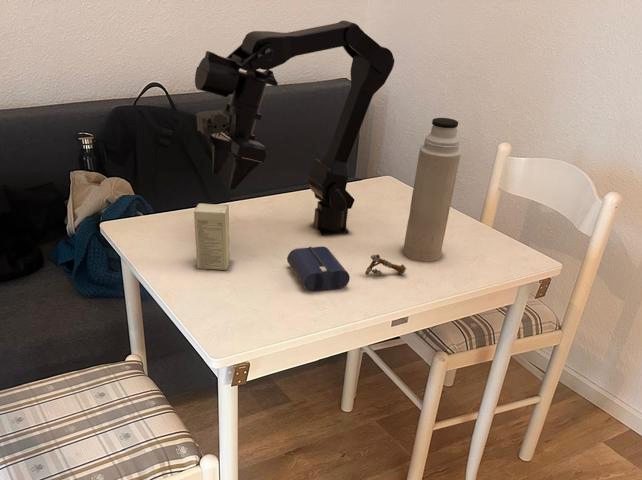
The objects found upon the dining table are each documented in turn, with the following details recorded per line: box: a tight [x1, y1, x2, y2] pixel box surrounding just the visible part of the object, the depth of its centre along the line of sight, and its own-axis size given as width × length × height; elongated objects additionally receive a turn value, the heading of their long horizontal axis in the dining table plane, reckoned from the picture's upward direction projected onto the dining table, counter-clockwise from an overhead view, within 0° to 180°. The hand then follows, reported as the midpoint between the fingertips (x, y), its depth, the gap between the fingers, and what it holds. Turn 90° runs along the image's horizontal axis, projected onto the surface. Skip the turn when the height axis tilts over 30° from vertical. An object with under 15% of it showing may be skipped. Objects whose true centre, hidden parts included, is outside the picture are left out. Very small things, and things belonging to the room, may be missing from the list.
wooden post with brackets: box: [364, 253, 408, 277], centre depth 135 cm, size 2×8×4 cm, turn 102°
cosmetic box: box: [193, 203, 231, 271], centre depth 133 cm, size 6×4×12 cm
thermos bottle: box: [402, 117, 462, 262], centre depth 137 cm, size 8×8×28 cm
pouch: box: [286, 245, 351, 293], centre depth 132 cm, size 9×11×4 cm
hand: (223, 181), depth 136 cm, fingers open, 9 cm apart
